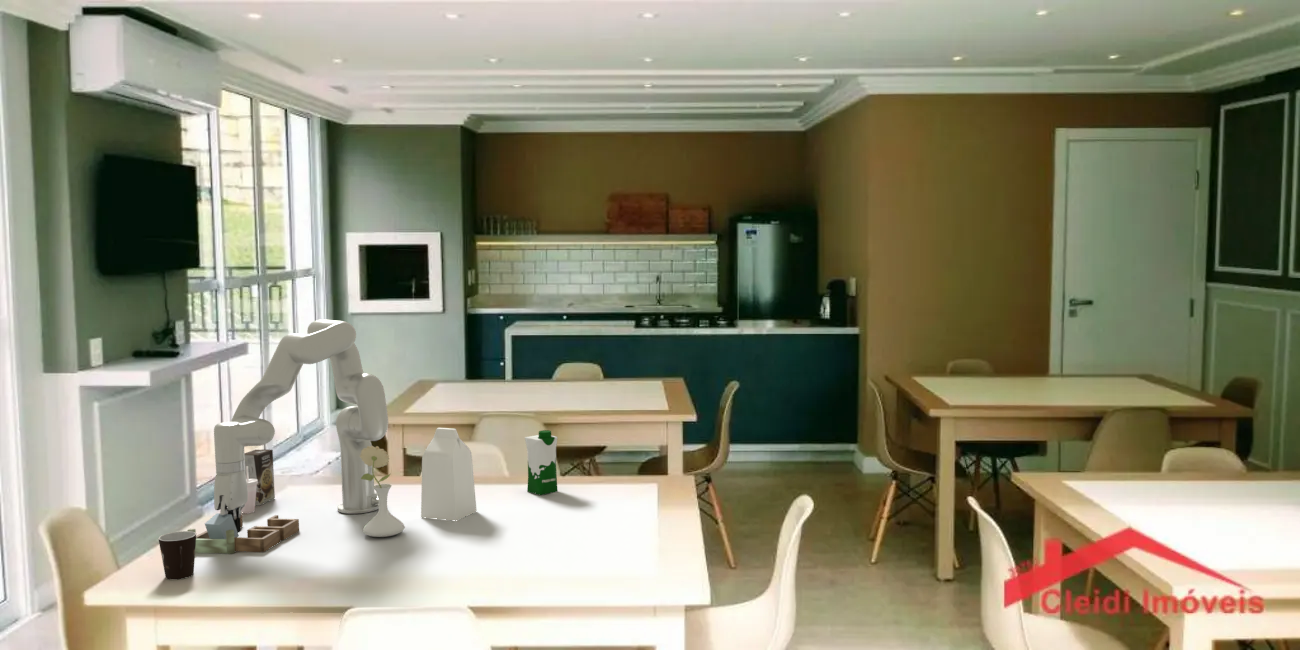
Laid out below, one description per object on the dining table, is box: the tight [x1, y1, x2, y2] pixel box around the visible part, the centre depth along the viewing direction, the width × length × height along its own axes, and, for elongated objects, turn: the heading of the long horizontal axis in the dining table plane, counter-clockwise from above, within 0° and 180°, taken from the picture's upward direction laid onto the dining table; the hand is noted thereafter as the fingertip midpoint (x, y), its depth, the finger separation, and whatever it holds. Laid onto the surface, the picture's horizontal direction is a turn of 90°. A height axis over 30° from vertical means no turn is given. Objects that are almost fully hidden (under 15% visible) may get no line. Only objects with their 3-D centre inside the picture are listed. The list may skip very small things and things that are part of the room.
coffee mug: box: [157, 530, 197, 580], centre depth 264 cm, size 12×9×10 cm
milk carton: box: [524, 429, 559, 496], centre depth 345 cm, size 9×9×20 cm
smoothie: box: [241, 466, 258, 514], centre depth 326 cm, size 6×6×14 cm
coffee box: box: [244, 448, 276, 506], centre depth 338 cm, size 9×6×16 cm
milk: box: [420, 427, 478, 522], centre depth 318 cm, size 12×12×26 cm
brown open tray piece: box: [186, 514, 300, 555], centre depth 296 cm, size 20×26×6 cm
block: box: [204, 512, 240, 539], centre depth 291 cm, size 5×5×7 cm
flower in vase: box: [360, 445, 406, 538], centre depth 298 cm, size 13×11×25 cm
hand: (233, 532), depth 296 cm, fingers closed
